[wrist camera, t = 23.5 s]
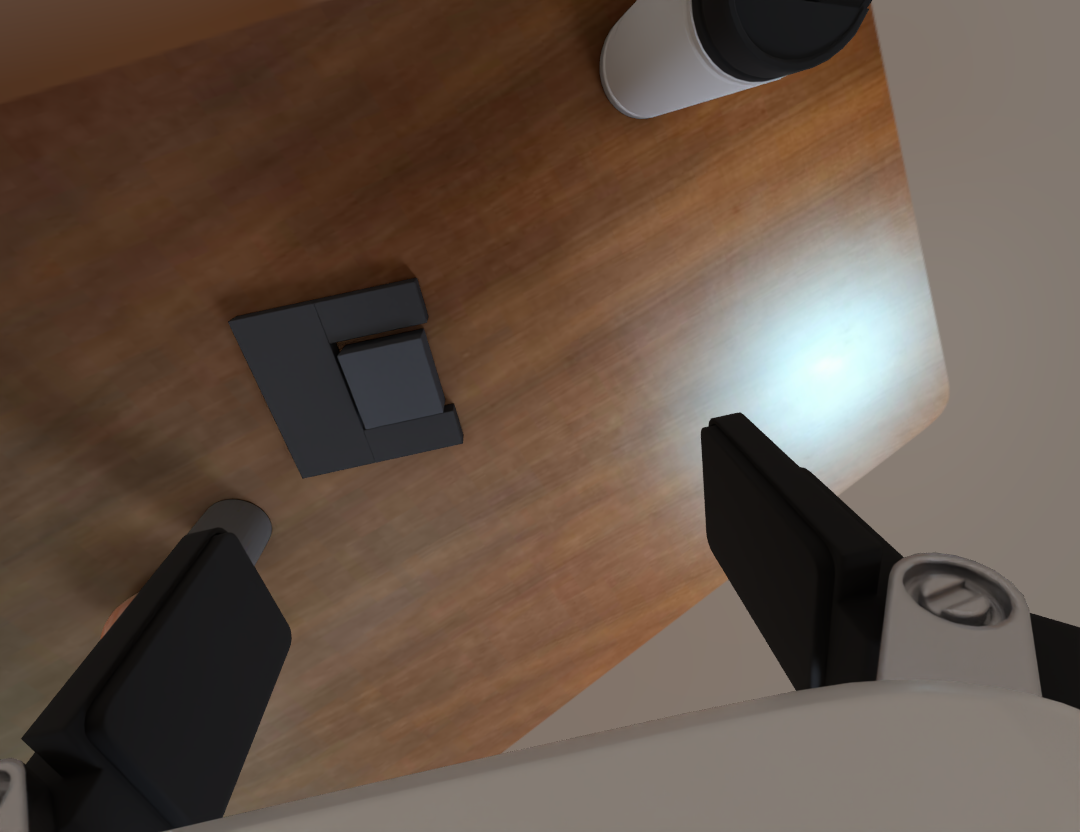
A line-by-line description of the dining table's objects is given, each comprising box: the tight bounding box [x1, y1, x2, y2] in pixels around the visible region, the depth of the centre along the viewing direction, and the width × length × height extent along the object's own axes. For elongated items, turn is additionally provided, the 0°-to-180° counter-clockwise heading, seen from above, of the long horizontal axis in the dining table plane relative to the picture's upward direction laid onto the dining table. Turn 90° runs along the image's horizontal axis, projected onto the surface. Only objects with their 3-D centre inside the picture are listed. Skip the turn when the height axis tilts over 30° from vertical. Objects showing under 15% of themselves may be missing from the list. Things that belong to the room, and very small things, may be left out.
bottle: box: [188, 499, 272, 566], centre depth 40 cm, size 6×6×15 cm
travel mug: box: [600, 0, 872, 119], centre depth 26 cm, size 6×7×20 cm
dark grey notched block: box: [228, 278, 463, 478], centre depth 42 cm, size 14×14×2 cm
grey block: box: [337, 329, 445, 429], centre depth 41 cm, size 6×6×3 cm
